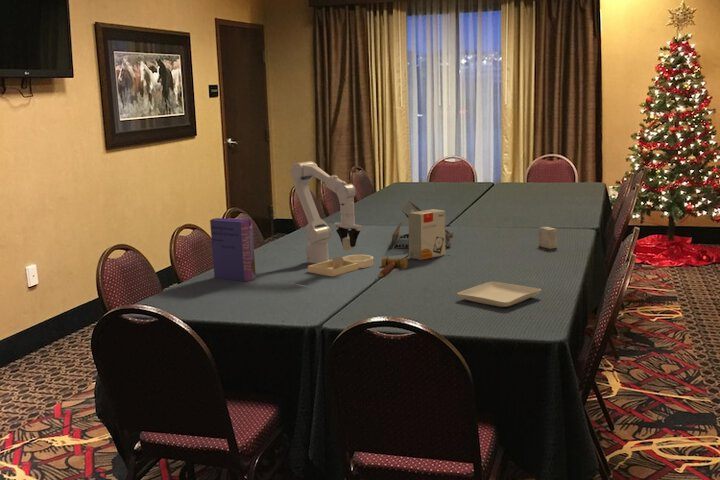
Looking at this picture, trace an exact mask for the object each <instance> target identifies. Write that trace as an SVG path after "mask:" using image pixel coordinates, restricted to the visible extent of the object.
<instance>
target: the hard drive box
mask: <svg viewBox="0 0 720 480" xmlns="http://www.w3.org/2000/svg"><path fill="white" fill-rule="evenodd" d="M408 215H409V218H408V234H409V238H408V246H409V249H408V257H409V258H410V259H414V260H419V261H423V260H428V259H430V258H431V259H432V258H435V257H436V258H437V257H441V256H445V255H446V249H445V248H446V247H445V245H446V242H445V240H446V238H445V236H446V235H445V229H446V210H444V209H443V210H442V209H434V208H432V209H426V210H422V211H417V212H416V211H414V212H412V211H411V212H410V213H409V214H408Z"/></svg>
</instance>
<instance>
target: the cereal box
mask: <svg viewBox="0 0 720 480" xmlns="http://www.w3.org/2000/svg"><path fill="white" fill-rule="evenodd" d="M209 222H210V223H209V224H210V237H211V248H212V250H211V251H212V262H213V274H214V275H213V276H214V279H221V280H230V281H231V280H232V281H240V282H247V283H248V282H252V281H255V280H256V279H257V278H256V277H257V275H256V274H257V273H256V264H255V263H256V262H255V247H254V245H255V244H254V231H253V228H254V227H253V220H251V219H239V218H238V219H235V218H222V217H221V218H220V217H218V218H212V219H209Z"/></svg>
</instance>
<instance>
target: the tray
mask: <svg viewBox="0 0 720 480" xmlns="http://www.w3.org/2000/svg"><path fill="white" fill-rule="evenodd" d="M358 270H359V268H358V263H354V262H345V261H344V266H343V267H339V268H336V269H333V259H329V261H325V262H321V263H317V264H316V263H312V264H310V265H307V272H308V273H312V274H318V275H321V276H328V277H336V276H340V275H343V274H346V273H350V272H354V271H358Z"/></svg>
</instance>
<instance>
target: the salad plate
mask: <svg viewBox="0 0 720 480" xmlns="http://www.w3.org/2000/svg"><path fill="white" fill-rule="evenodd" d="M541 291H542V289H541V288H537V287H531V286H525V285H519V284H511V283H505V282H501V281H500V282H499V281H489V282H486V283H481V284H479V285H475V286H473V287H470V288H467V289H465V290H461V291H459V292H457V295H458V296H459V298H461V299H463V300H465V301H469V302H473V303H479V304H483V305H487V306H494V307H499V308H506V307H511V306H513V305H516V304H520V303H522V302H524V301H527V300H528V299H530V298H533V297H535V296H537V295H538V294H539V293H540V292H541Z"/></svg>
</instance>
